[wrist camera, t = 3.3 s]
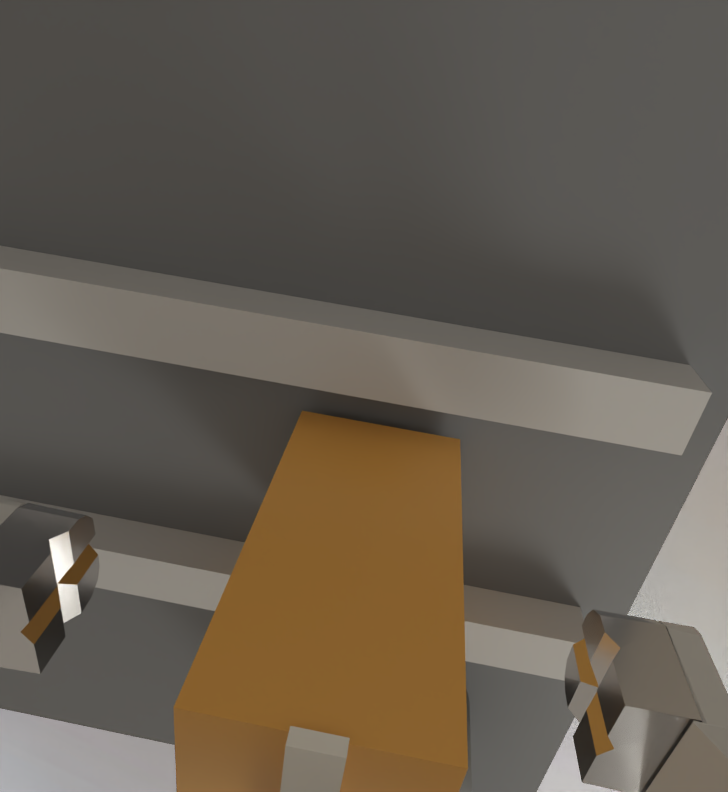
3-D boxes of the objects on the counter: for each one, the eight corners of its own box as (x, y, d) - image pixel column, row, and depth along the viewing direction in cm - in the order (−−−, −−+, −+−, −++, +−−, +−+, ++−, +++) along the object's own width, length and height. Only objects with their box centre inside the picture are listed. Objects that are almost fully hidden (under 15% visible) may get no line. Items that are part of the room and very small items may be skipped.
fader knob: (429, 560, 13) (413, 926, 7) (289, 533, 13) (172, 874, 7) (461, 434, 11) (470, 784, 6) (302, 406, 11) (165, 721, 6)
